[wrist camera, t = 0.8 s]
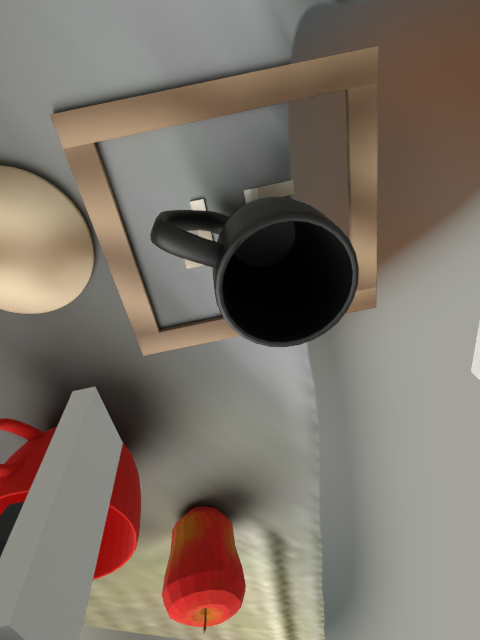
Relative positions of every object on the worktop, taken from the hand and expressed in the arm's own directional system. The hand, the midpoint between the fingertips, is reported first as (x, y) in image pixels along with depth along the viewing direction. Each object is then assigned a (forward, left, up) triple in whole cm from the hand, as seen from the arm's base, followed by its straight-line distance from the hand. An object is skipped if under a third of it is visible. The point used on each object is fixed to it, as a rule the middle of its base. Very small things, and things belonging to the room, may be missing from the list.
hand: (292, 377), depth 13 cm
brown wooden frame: (0, 0, -18) cm, 18 cm away
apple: (+35, -11, -19) cm, 41 cm away
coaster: (-2, -16, -18) cm, 25 cm away
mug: (0, 0, -18) cm, 18 cm away
